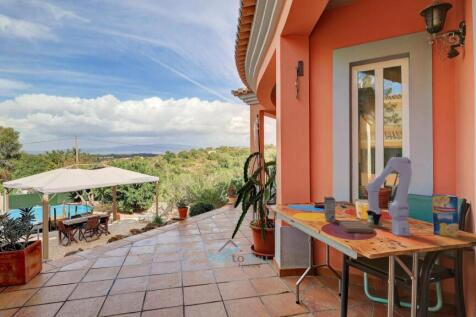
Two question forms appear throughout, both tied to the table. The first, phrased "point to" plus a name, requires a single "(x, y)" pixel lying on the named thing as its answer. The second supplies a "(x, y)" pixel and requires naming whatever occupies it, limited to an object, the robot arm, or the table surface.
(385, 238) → the table surface
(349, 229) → the dock
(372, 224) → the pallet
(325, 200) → the coffee box
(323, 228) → the table surface
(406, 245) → the table surface
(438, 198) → the blue cereal box
